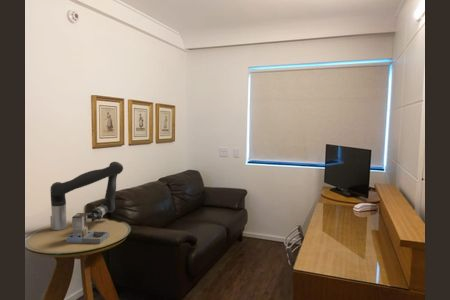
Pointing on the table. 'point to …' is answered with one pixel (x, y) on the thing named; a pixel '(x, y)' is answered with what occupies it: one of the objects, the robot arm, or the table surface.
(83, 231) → the coffee box
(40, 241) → the table surface
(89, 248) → the table surface
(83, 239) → the divided tray
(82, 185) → the robot arm
